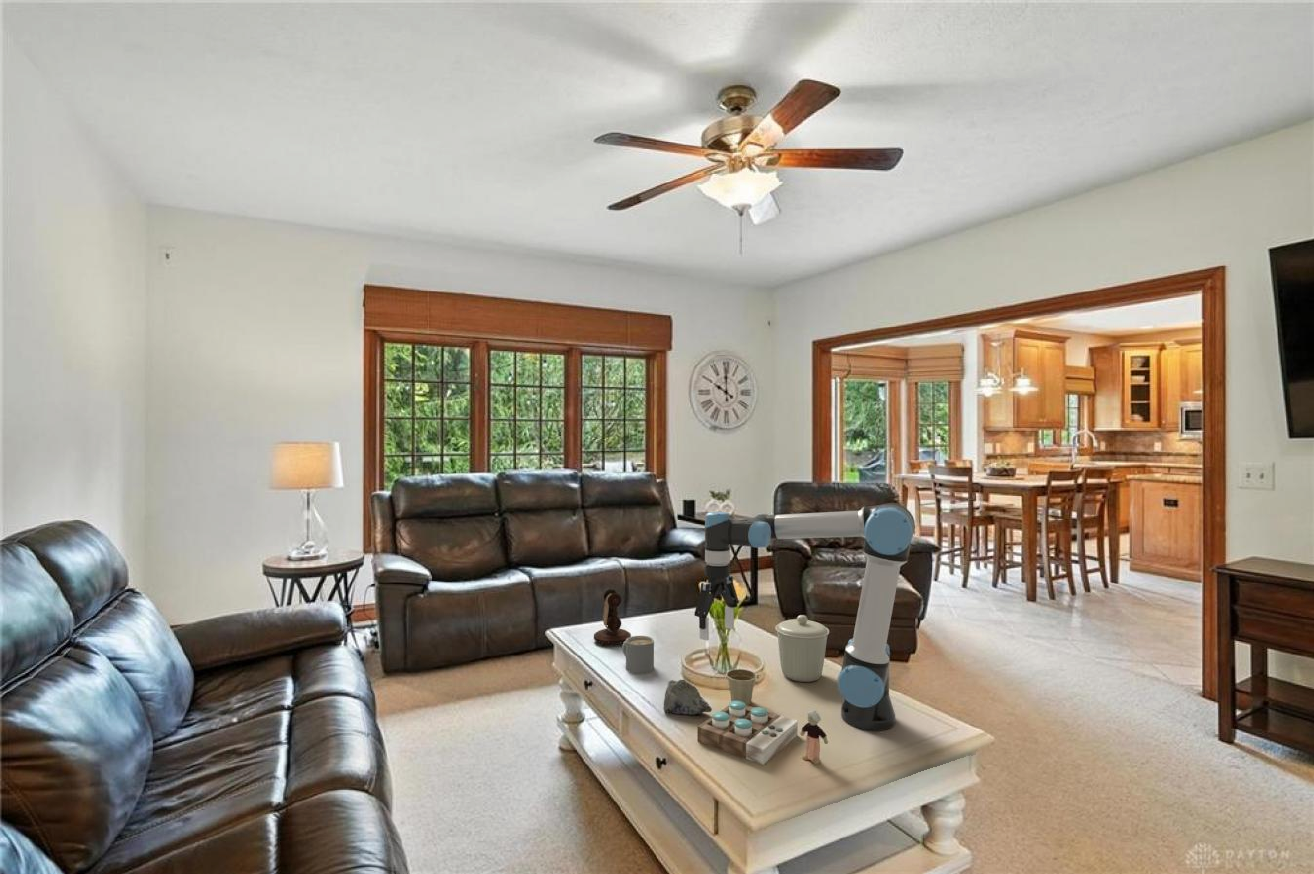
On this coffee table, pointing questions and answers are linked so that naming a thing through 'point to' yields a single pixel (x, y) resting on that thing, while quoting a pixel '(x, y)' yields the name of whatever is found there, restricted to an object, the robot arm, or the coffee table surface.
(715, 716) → the button
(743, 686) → the flower pot
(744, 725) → the button
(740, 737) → the button board
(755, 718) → the button
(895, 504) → the robot arm
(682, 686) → the mineral rock
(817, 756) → the grandmother figurine
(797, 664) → the canister
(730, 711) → the button
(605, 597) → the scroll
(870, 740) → the coffee table surface
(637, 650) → the coffee mug
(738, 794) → the coffee table surface
